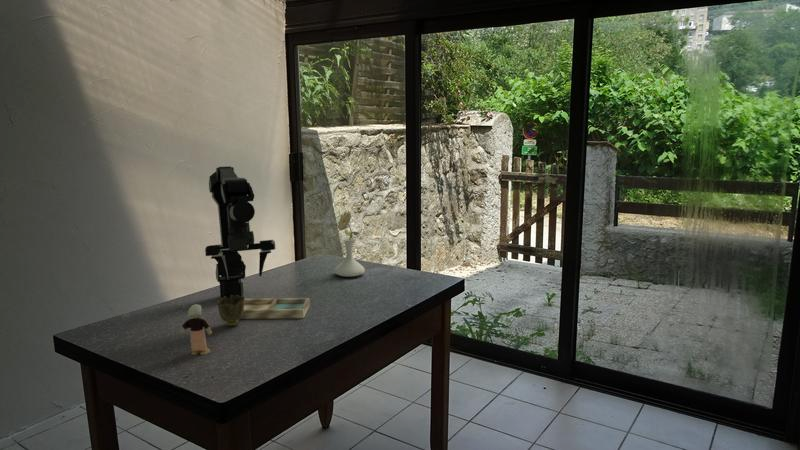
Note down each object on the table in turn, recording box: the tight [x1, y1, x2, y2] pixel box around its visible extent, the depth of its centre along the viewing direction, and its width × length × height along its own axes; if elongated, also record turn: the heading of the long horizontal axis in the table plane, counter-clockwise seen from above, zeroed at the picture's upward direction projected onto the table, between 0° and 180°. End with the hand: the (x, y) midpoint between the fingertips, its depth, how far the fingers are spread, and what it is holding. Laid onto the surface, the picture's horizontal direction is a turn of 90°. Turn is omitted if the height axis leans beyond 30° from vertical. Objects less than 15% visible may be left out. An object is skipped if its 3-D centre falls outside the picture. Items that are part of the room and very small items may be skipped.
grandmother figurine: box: [180, 303, 213, 356], centre depth 141 cm, size 8×4×13 cm, turn 98°
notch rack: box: [239, 297, 311, 320], centre depth 171 cm, size 21×11×2 cm, turn 90°
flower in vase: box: [334, 210, 366, 278], centre depth 208 cm, size 13×11×25 cm
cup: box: [216, 295, 245, 328], centre depth 160 cm, size 8×7×8 cm
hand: (243, 278), depth 159 cm, fingers open, 9 cm apart
